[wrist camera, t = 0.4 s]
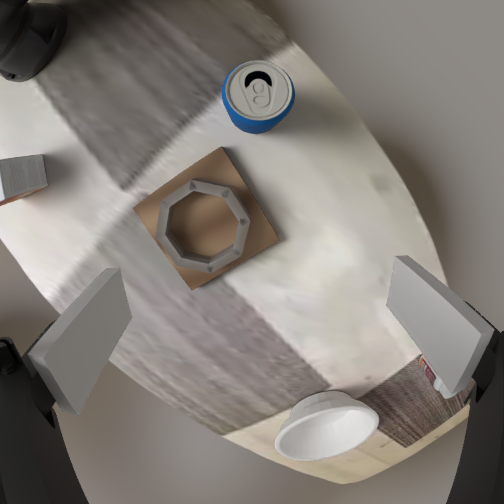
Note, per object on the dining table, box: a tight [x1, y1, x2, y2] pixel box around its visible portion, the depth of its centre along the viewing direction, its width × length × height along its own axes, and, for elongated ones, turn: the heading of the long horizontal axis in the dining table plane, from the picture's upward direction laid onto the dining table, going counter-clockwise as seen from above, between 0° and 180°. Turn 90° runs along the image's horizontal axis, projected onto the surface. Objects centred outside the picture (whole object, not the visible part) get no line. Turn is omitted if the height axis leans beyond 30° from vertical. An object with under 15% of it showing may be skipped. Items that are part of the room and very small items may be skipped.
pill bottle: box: [419, 354, 457, 399], centre depth 42 cm, size 6×6×11 cm
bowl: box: [275, 391, 379, 461], centre depth 47 cm, size 21×21×8 cm
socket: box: [133, 147, 279, 290], centre depth 35 cm, size 14×14×4 cm
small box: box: [0, 154, 48, 206], centre depth 28 cm, size 8×6×10 cm
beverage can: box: [222, 61, 295, 134], centre depth 26 cm, size 6×6×12 cm
